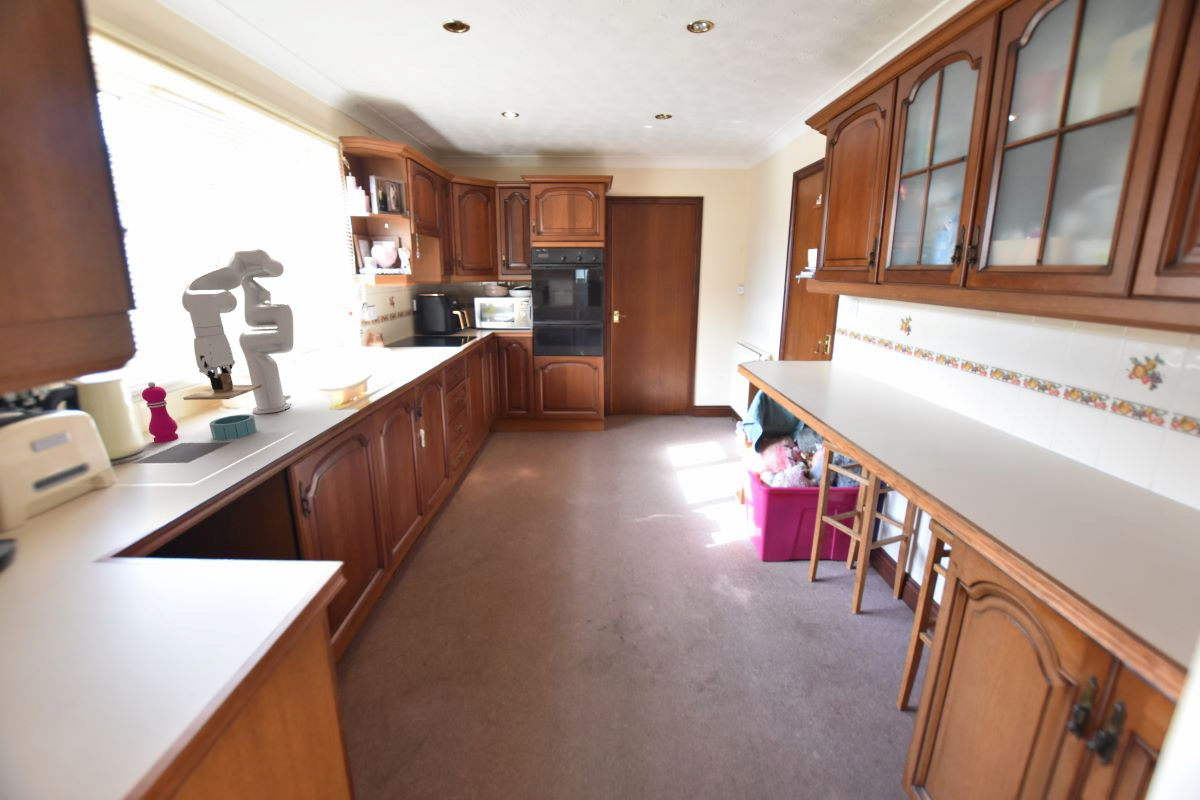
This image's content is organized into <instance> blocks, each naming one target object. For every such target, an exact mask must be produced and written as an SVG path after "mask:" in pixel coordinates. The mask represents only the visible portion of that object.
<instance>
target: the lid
mask: <svg viewBox="0 0 1200 800" xmlns="http://www.w3.org/2000/svg"><path fill="white" fill-rule="evenodd" d="M218 377H220V379H221V383H222V387H223V389H221V390H213V389H212V387H210V388H207V389H205V390H204V389H203V390H201V391H198V392H195V393H192V394H189V395H186V396H183V400H185V401H194V400H195V401H196V400H197V401H201V400H202V401H203V400H204V401H205V400H206V401H207V400H230V399H231V400H232V399H233V398H236V397H239V396H242V395H244V394H247V393H249V392H253V390H255V389H258V388H261V387H262V385H252V384H233V386H232V383H233V382H232V383H231V379H232V377H231V378H230V374H229V373H221V372H220V373H219V372H218Z"/></svg>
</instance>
